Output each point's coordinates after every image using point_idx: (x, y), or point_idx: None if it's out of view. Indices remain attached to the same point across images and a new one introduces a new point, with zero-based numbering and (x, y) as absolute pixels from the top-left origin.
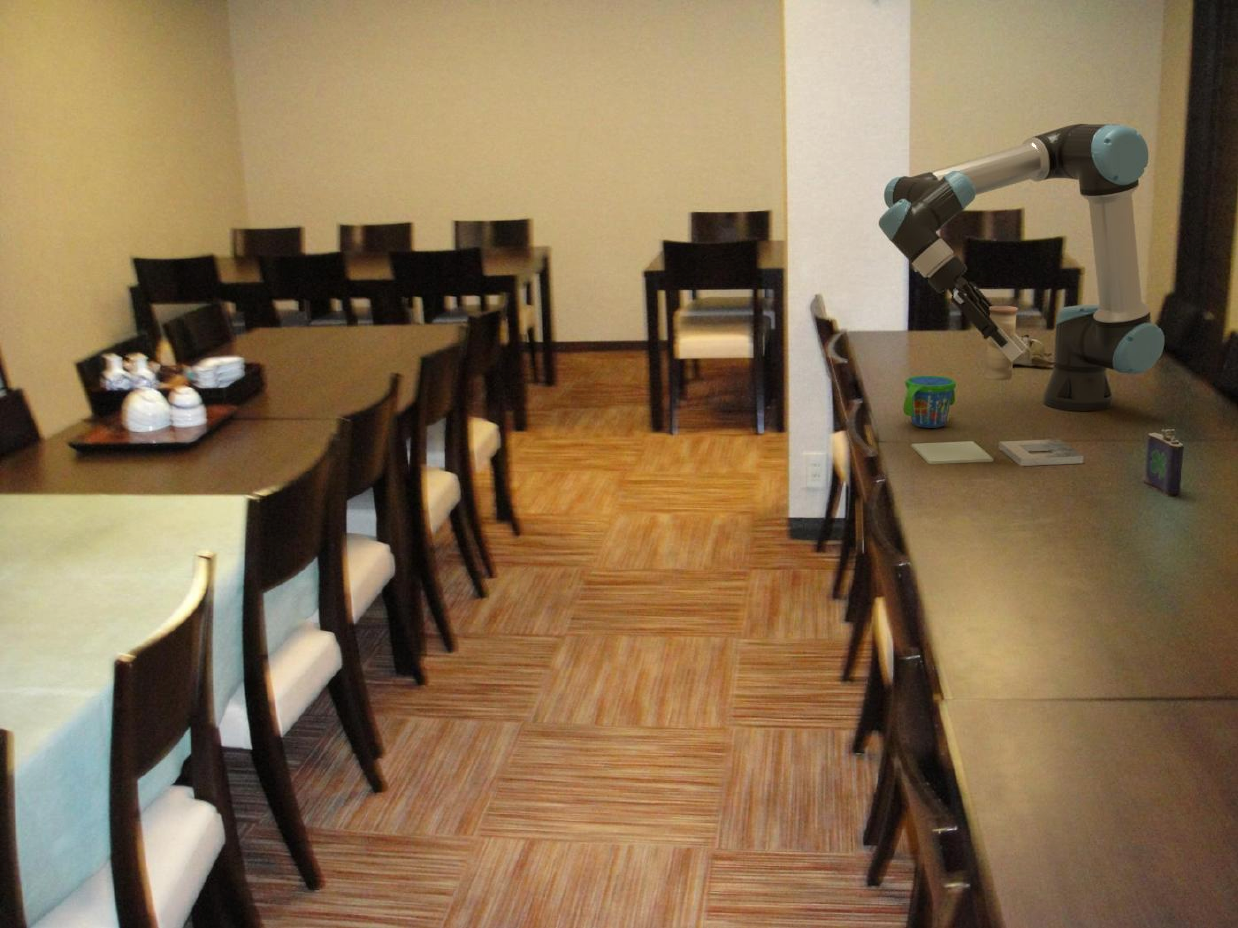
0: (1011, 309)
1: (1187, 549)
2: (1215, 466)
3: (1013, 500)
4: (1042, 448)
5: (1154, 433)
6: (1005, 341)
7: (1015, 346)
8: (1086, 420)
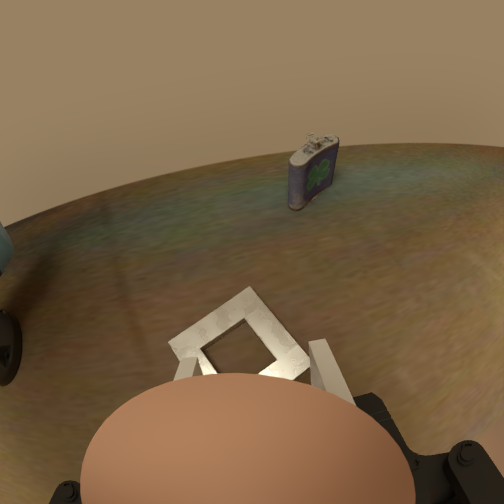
0: (307, 427)
1: (441, 160)
2: (197, 174)
3: (451, 308)
4: (208, 359)
5: (295, 160)
6: (376, 400)
7: (335, 364)
8: (48, 330)
